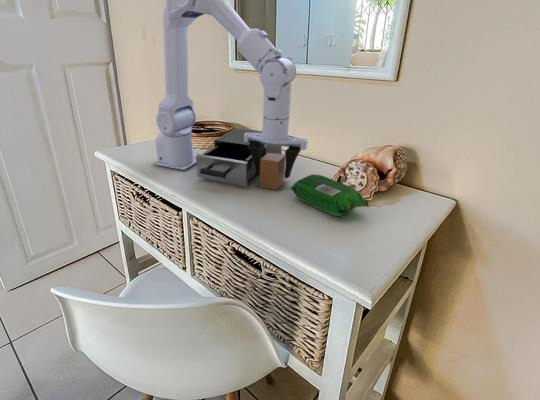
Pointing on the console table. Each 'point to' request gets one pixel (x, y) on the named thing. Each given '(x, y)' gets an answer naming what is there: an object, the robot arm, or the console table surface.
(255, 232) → the console table surface
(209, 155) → the drawer
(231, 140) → the grey drawer cabinet
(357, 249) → the console table surface
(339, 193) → the snack package
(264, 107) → the robot arm
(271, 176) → the tan upright block
